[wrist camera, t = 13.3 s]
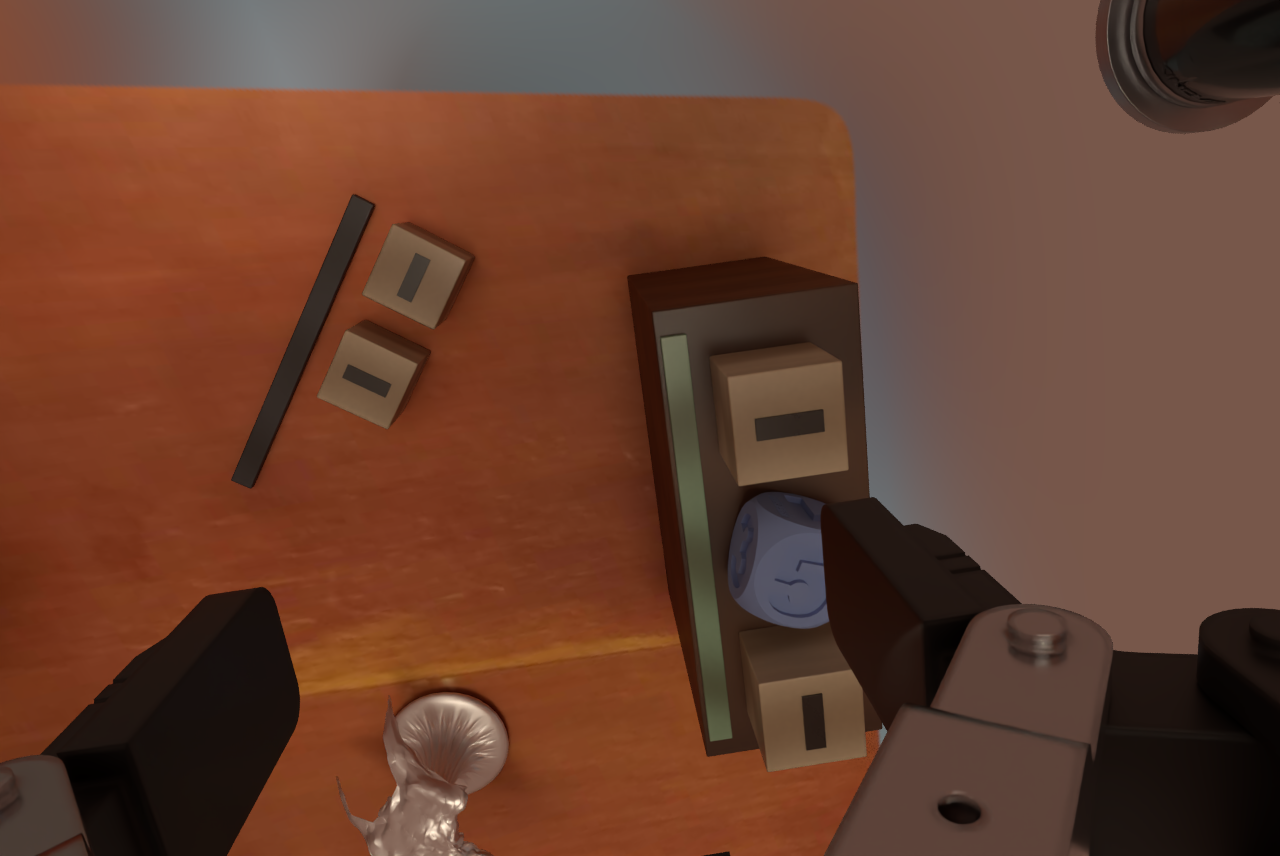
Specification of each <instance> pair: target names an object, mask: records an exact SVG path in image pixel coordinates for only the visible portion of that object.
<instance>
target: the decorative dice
mask: <svg viewBox="0 0 1280 856" xmlns="http://www.w3.org/2000/svg"><path fill="white" fill-rule="evenodd" d="M823 505H825V503H823V502H820V501H817V500H814V499H811V498H808V497H804V496H800V495H796V494H791V493H784V492H765V493H761V494H759V495H757V496H755V497H754V498H752V499H751V500H749V501H748V502H746V503H745V504H744V506H743V507H742V509H741V511H740V513H739V515H738V517H737V520H736V523H735V526H734V530H733V534H732V538H731V543H730V550H729V558H728V584H729V590H730V593H731V595H732V597H733V598H734V600H735V601H736V602H737V603H738V604H739V605H740V606H741V607H742V608H744V609H745V610H746V611H748V612H749V613H751V614H753V615H755V616H757V617H759V618H761V619H763V620H766V621H768V622H771V623H774V624H777V625H781V626H785V627H790V628H799V629H808V628H815V627H818V626H821V625H823V624H825V623H827V622H829V617H828V611H827V603H826V591H825V577H824V563H823V550H822V536H821V509H822V506H823Z"/></svg>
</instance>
